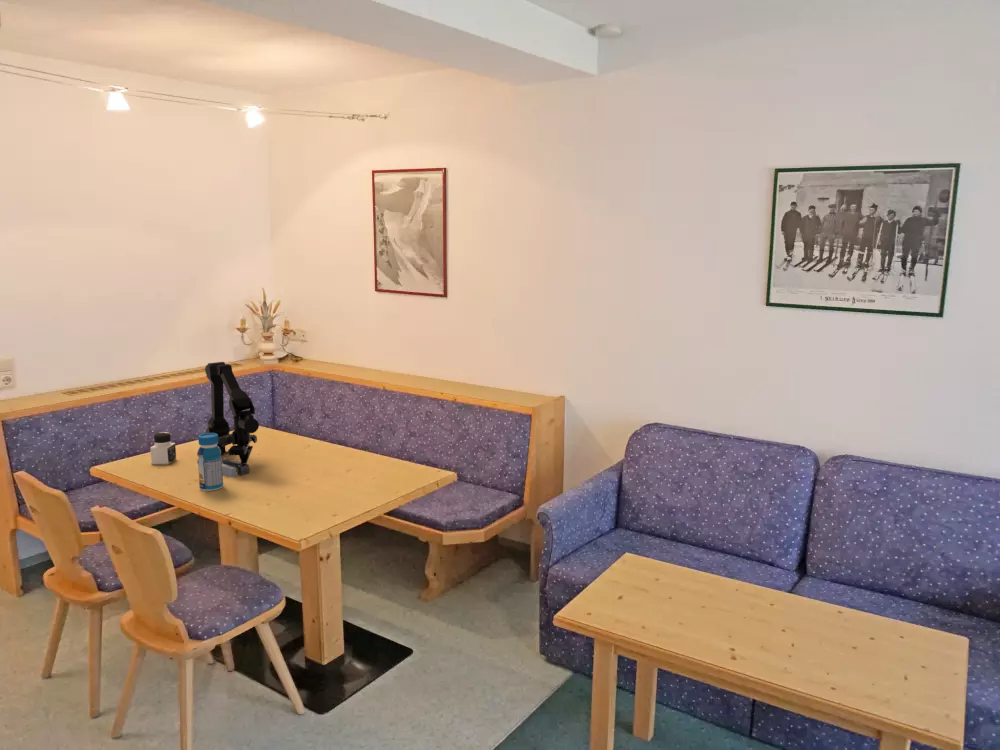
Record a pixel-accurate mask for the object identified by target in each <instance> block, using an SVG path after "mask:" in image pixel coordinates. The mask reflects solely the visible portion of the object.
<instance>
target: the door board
mask: <svg viewBox="0 0 1000 750" xmlns="http://www.w3.org/2000/svg"><path fill="white" fill-rule="evenodd" d="M222 475H223V476H226V477H229V478H235V477H237V475H238V474H237V469H236V468H235V467H232V466H229V465H226V464H222Z"/></svg>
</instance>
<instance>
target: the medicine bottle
mask: <svg viewBox="0 0 1000 750" xmlns="http://www.w3.org/2000/svg"><path fill="white" fill-rule="evenodd" d="M153 438H154V445H152V446H150V458H151V459H150V461H151V464H152V465H170V464H171V463H173V462H174V461H176V460H177V451H176V443H175V442H172V440H171V439H172V437H171V433H170V432H168V431H167V432H166V431H165V432H164V431H160V432H157V433H155V434H154V435H153Z"/></svg>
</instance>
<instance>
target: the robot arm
mask: <svg viewBox="0 0 1000 750" xmlns="http://www.w3.org/2000/svg"><path fill="white" fill-rule="evenodd" d="M232 367H233V366H232V364H230V363H225V361H216V362H209V363H207V365H206V366H205V367H204V372H205V375H206V378H207V379H208V381H209V382H210V393H211V394H210V395H211V396H210V397H211V398H210V399H211V401H210V403H211V417H210V418H209V420H208V421H207V428H205V429H206V430H205V432H204V434H205V433H216V434H218V444H217V445H218V446H219V448H220V450H221V456H222V455H226V454H228V455H227V456H238V457H239V459H240V462H245V463H246V464H248V461H249V458H250V455H251V453H252V450H253V448H254V446H253V445H250V443H254V444H256V443H257V442H258V437H257V435H256V434H253V433H256V432H257V431H258V429H259V427H260V423H259V422H258V420H257V419H255V418H254V415H255V414H256V408H255V405H254V403H253V401H252V399H251V398H250V396H249V394H248V393H247V392H246V391H244V390H242V388H241V386H240V385H239V382H238V380H237V378H236V376H235V375H234V372H233V368H232ZM224 387H225V389H226V391H227V393H228V396H229V398H228V399H229V400H228V406H229V409H230V411H231V414H232V416H233V417H232V418H233V419H232V420H233V431H232V432H231V433H230V431H231V428H230V427H229V424H230V423H229V422H228V421H227V420H226V419H225V412H224V411H225V406H224V403H225V402H224V401H225V400H224ZM231 444H232V446H230V448H229V449H228V450H226V446H228V445H231Z"/></svg>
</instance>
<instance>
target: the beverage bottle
mask: <svg viewBox="0 0 1000 750" xmlns="http://www.w3.org/2000/svg"><path fill="white" fill-rule="evenodd" d="M197 440H198V445H199V448H198V450H197V453H196V454H197V457H198V458H197V463H196V464H197V466H198V467H197V471H198V481H199V482H198V483H199V489H200V490H201V491H203V492H213V491H218V490H221V489H222V488H223V487H224V482H223V481H224V480H223V479H224V477H223V476H224V475H222V458H223V457H222V455H221V450H220V448H219V446H218V445H217V444H218V434H216V433H205V432H204V433H200V434H199V435H198V439H197Z"/></svg>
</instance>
